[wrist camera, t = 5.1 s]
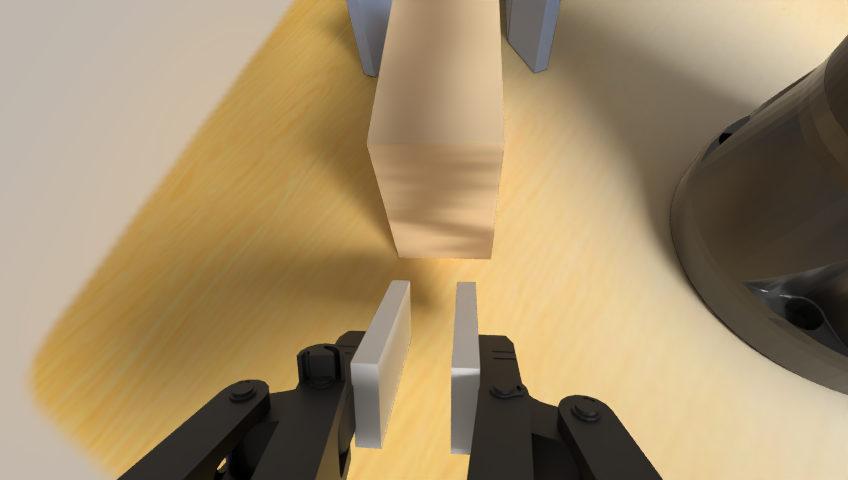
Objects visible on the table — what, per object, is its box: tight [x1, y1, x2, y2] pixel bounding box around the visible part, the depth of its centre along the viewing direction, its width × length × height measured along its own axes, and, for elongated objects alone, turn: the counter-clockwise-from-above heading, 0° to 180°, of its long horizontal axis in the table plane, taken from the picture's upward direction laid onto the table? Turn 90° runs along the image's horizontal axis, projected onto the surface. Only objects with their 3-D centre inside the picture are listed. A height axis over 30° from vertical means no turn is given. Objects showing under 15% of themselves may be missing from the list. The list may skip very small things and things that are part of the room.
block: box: [366, 0, 505, 259], centre depth 22 cm, size 5×12×9 cm, turn 176°
